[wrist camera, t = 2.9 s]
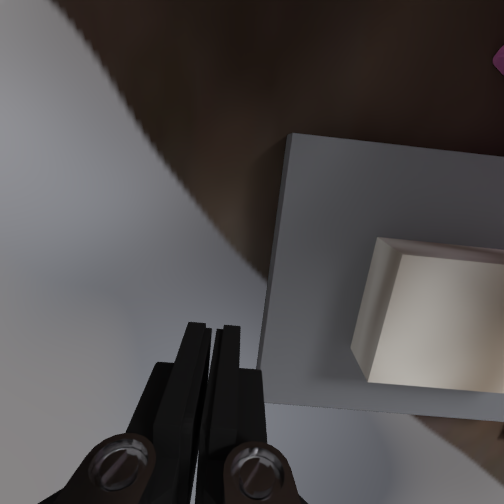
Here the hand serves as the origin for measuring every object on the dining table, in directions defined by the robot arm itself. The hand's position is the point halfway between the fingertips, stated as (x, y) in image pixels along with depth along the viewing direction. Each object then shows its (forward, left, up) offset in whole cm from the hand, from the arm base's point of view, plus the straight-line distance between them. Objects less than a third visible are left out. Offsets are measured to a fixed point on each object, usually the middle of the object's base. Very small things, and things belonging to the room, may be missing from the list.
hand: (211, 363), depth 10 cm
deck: (0, +10, -7) cm, 13 cm away
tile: (0, +11, -5) cm, 12 cm away
